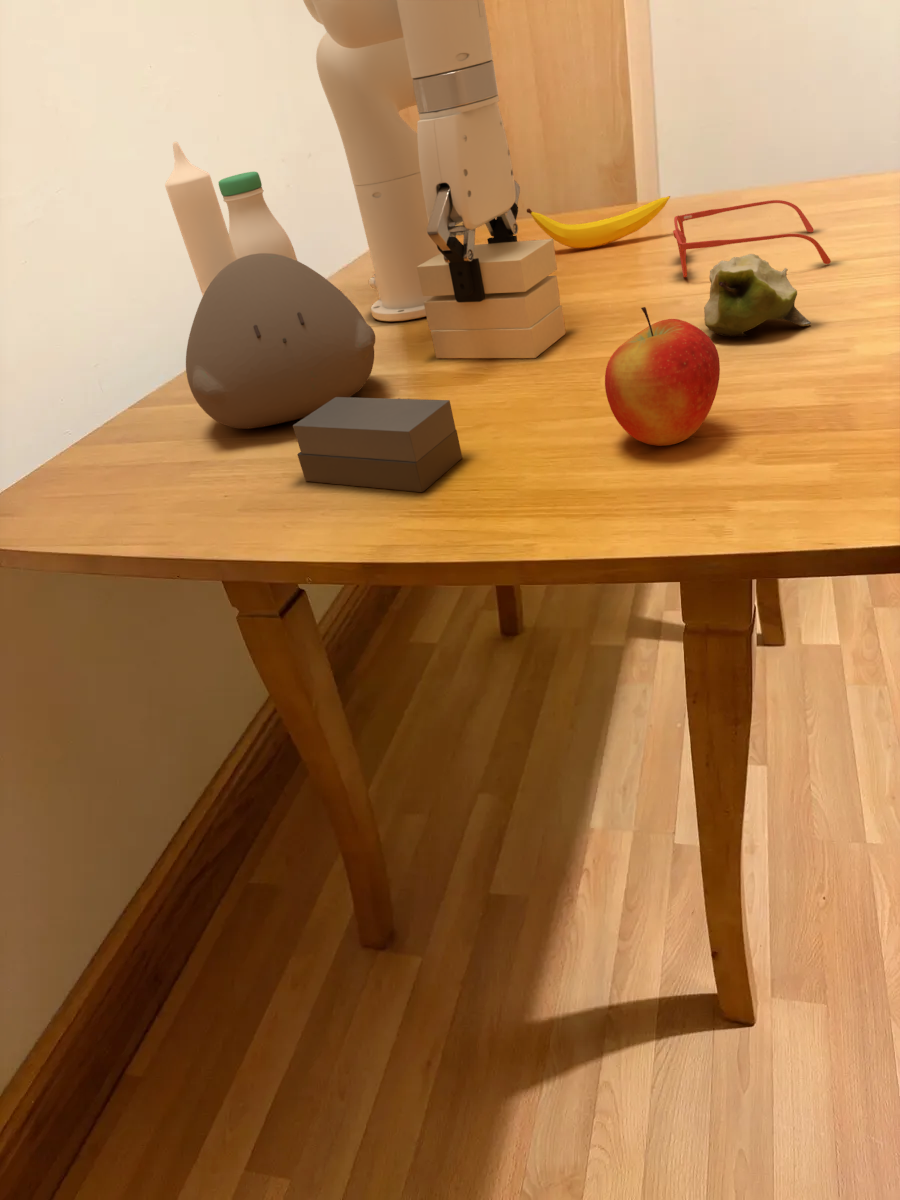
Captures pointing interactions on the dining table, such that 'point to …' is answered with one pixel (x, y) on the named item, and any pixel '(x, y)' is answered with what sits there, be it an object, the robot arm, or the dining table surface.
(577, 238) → the banana
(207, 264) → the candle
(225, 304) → the decorative object
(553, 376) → the dining table surface
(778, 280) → the fruit
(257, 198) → the milk bottle
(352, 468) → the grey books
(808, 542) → the dining table surface
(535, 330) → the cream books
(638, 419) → the apple
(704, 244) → the red eyeglasses
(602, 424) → the dining table surface
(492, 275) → the cream rectangular block
